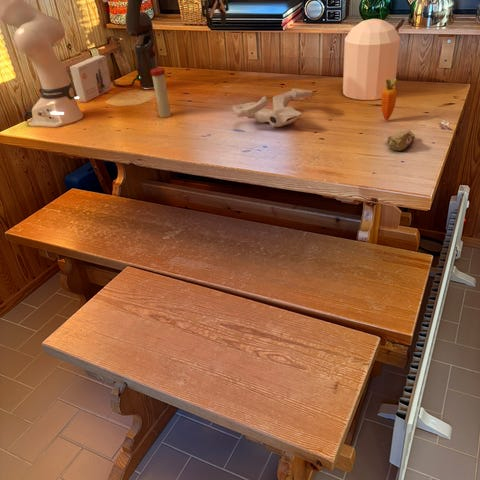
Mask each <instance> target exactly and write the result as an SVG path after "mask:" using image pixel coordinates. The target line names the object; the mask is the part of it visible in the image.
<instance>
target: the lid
mask: <svg viewBox="0 0 480 480" xmlns="http://www.w3.org/2000/svg"><path fill="white" fill-rule="evenodd" d="M150 73H151V75H152V76H159V75H163V74H164V75H165V73H166V71H165V69H164V67H158V68H154V69H151V70H150Z"/></svg>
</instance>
